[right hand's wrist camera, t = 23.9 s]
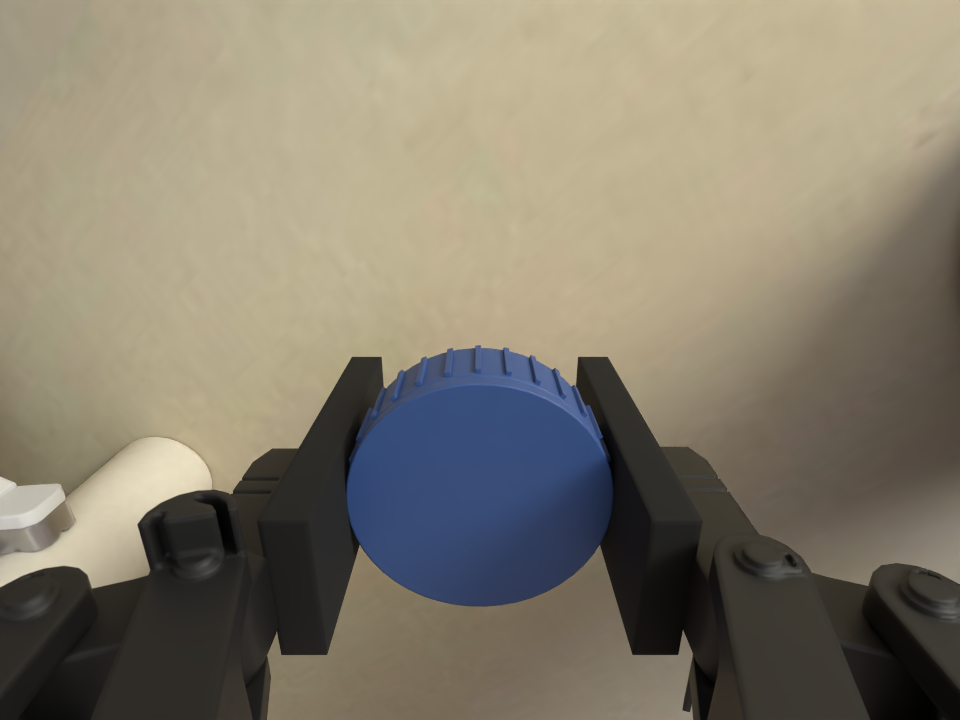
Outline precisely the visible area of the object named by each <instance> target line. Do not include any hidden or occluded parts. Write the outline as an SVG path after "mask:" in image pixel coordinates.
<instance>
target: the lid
mask: <svg viewBox="0 0 960 720" xmlns="http://www.w3.org/2000/svg"><path fill="white" fill-rule="evenodd" d="M356 441H357V442H356V444H355V447H354V449H353V451H352V454H351V456H350V459H349V464H350V468H349V472H348V477H347V483H346V499H347V508H348V516H349V520H350V524H351V526H352V529H353V531H354V534H355V536H356V538H357V540H358V542H359V544H360V545H361V547H362V549H363V550H364V552H365V553H366V554H367V555H368V557H369V558H370V559H371V560H372V562H373V563H374V564H375V565H376V566H377V567H378V568H379V569H380V570H381V571H382V572H383V573H385V574H386V575H387V576H389V577H390V578H391V579H393V580H394V581H395V582H397V583H399V584H400V585H402V586H404V587H405V588H407V589H409V590H411V591H413V592H415V593H417V594H420V595H422V596H424V597H427V598H430V599H433V600H437V601H440V602H445V603H449V604H455V605H463V606H497V605H504V604H510V603H515V602H519V601H523V600H526V599H529V598H533V597H535V596H537V595H540V594H542V593H545V592H547V591H549V590H551V589H552V588H554V587H556V586H558V585H560V584H561V583H563V582H564V581H565V580H567V579H568V578H570V577H571V576H573V575H574V574H575V573H576V572H577V571H578V570H579V569H580V568H581V567H582V566H584V564H585V563H586V562H587V561H588V560H589V559H590V557H591V556H592V555H593V554H594V552H595V551H596V549H597V548H598V546H599V545H600V543H601V542H602V539H603V537H604V535H605V533H606V531H607V529H608V525H609V522H610V519H611V513H612V504H613V494H614V484H613V479H612V473H611V469H610V466H609V463H608V462H610V460H611V458H610V455H609V453H608V450H607V448H606V445H605V443H604V441H603V438H602V434H601V432H600V429H599V427H598V424H597V422H596V420H595V417H594V415H593V412H592V410H591V408H590V406H589V405H587V406H585V405H584V403H583V401H582V399H581V396H580V394H579V391H578V388H577V387H576V386H575V385H573V386H572V387H571V386H570V385H569V384H568V383H567V382H566V381H565V380H564V379H563V378H562V377H561V376H560V374H559V371H558V370H557V369H556V368H554V369H553V370H552V369H550V368H548V367H547V366H545V365H543V364H541V363H540V362H538V361H536V358H535V357H534V356H532V355H531V356H530V357H529V358H528V357H526V356H524V355H520V354H517V353H513V352H509V348H504V349H503V350H497V349H487V348H481V346H480V345H478V346H476V347H475V348H472V349H462V350H455V351H453V348H451V349H448V350H447V353H442V354H439V355H437V356H434V357H431V358H429V359H427V357H423V358H422V359H421V362H420V363H418V364H416V365H415V366H413V367H411V368H410V369H408V370H407V371H406V372H404V371H403V370H401V371H400V372H399V373H398V376H397V379H396V380H395V381H393V382H392V383H391V384H390V385H389V386H388V387H387V389H386V388H384V387H383V388H382V389H381V390H380V393H379V395H378V398H377V400H376V403H375V406H374V408H373V409H372V408H370V407H369V409H368V411H367V413H366V416H365V418H364V421H363V423H362V426H361V428H360V430H359V433H358V435H357V438H356Z"/></svg>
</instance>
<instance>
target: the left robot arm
mask: <svg viewBox="0 0 960 720" xmlns="http://www.w3.org/2000/svg"><path fill="white" fill-rule="evenodd" d="M75 521H76V519H75V517H74V515H73V512H72V510H71V507H70V505H69V503H68V500H67V498H66V496H65V493H64V491H63V489H62V486H61V484H58V483H55V484H40V485H25V486H17V485H16V483H14V482H12V481H10V480H7V479H5V478H2V477H0V555H4V554H12V553H14V552H15V551H16V550H19V551H21V552H24V553H32V552H37V551H40V550H43V549H45V548H47V547H49V546H51V545H52V544H53V543H54V542H55V541H57V540H58V539H59V538H60V535H61V533H62V530H66V529H70V528H71V527H72V526H73V525H74V523H75Z"/></svg>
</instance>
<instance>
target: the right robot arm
mask: <svg viewBox="0 0 960 720" xmlns="http://www.w3.org/2000/svg"><path fill="white" fill-rule="evenodd" d="M383 387H384V386H383V372H382V358H381V357H352V358H351V360H350V361H349V363H348V365H347V367H346V368H345V370H344V372H343V373H342V375H341V377H340V379H339V380H338V382H337V384H336V385H335V387H334V389H333V391H332V392H331V394H330V396H329V397H328V399H327V401H326V403H325V404H324V406H323V408H322V409H321V411H320V413H319V415H318V416H317V418H316V420H315V421H314V423H313V425H312V427H311V428H310V430H309V432H308V433H307V435H306V437H305V439H304V440H303V442H302V444H301V445H300V447H299V449H271V450H270V451H268V452H267V453H265V454H264V455H263V456H261V457H260V458H258V459H257V460H255V461H254V462H253V463H252V464H251V466H250V467H249V469H248V470H247V472H246V473H245V474H244V476H243V477H242V481H240V482H239V483H238V484H237V486H236V487H235V489H234V490H233V494H229V493H226V492H222V491H217V490H197V491H193V492H189V493H185V494H180V495H177V496H175V497H173V498H171V499H168V500H166V501H164V502H161V503H160V504H158V505H157V506H155V507H154V508H153V509H151V510H150V511H148V512H147V513H146V514H145V515H144V516H143V518H142V519H141V520H140V521H139V523H138V524H137V525H138V529H139V532H140V536H141V539H142V543H143V546H144V550H145V553H146V557H147V560H148V564H149V567H150V572H149V575H147V576H143V577H140V578H136V579H133V580H128V581H124V582H119V583H115V584H110V585H106V586H101V587H97V588H92V587H91V584H90V581H89V578H88V575H87V574H86V573H85V572H83V571H82V570H81V569H80V568H76V567H70V566H58V567H51V568H44V569H41V570H38V571H34V572H31V573H28V574H26V575H23V576H21V577H19V578H17V579H15V580H13V581H11V582H9V583H7V584H6V585H4V586H2V587H0V720H267V712H268V702H269V691H270V681H271V675H270V668H269V662H268V657H267V654H268V652H269V649H270V647H271V644H272V642H273V639H274V637H275V635H276V632H277V633H278V639H279V644H280V649H281V655H327V653H328V650H329V647H330V643H331V640H332V636H333V633H334V630H335V626H336V623H337V619H338V616H339V613H340V609H341V606H342V603H343V599H344V596H345V592H346V589H347V586H348V582H349V579H350V575H351V572H352V569H353V565H354V562H355V559H356V555H357V552H358V548H359V545H360V544H359V542H358V540H357V538H356V536H355V534H354V531H353V529H352V526H351V524H350V520H349V516H348V508H347V499H346V483H347V477H348V472H349V468H350V464H349V459H350V456H351V454H352V451H353V449H354V447H355V444H356V442H357V441H356V438H357V435H358V433H359V430H360V428H361V426H362V423H363V421H364V418H365V416H366V413H367V411H368V409H369V407H370V408H372V409H373V408H374V406H375V403H376V400H377V398H378V395H379V393H380V390H381V389H382V388H383ZM576 387H577V388H578V391H579V394H580V396H581V399H582V401H583V403H584V405H585V406H587V405H589V406H590V408H591V410H592V412H593V415H594V417H595V420H596V422H597V424H598V427H599V429H600V432H601V434H602V438H603V441H604V443H605V445H606V448H607V450H608V453H609V455H610V458H611V460H610V462H608V463H609V466H610V469H611V473H612V479H613V484H614V494H613V504H612V513H611V519H610V522H609V525H608V529H607V531H606V533H605V535H604V537H603V539H602V542H601V543H600V546H601V549H602V553H603V556H604V560H605V563H606V566H607V570H608V573H609V577H610V580H611V583H612V587H613V590H614V594H615V597H616V600H617V604H618V607H619V610H620V614H621V617H622V621H623V624H624V627H625V631H626V634H627V638H628V641H629V644H630V648H631V651H632V654H633V655H678V653H679V647H680V642H681V637H682V631H683V630H684V633H685V635H686V638H687V640H688V642H689V645H690V647H691V650H692V652H693V657H692V662H691V667H690V672H689V677H688V683H687V688H686V693H685V698H684V704H683V710H684V711H688V712H690V709H691V704H692V710H693V720H960V584H958V583H956V582H954V581H952V580H950V579H948V578H946V577H944V576H942V575H941V574H939V573H936V572H933V571H931V570H927V569H924V568H921V567H918V566H913V565H905V564H898V563H895V564H888V565H881V566H880V567H879V568H878V569H876V570H875V571H874V572H873V574H872V577H871V580H870V583H869V586H865V585H860V584H856V583H851V582H847V581H842V580H838V579H833V578H829V577H825V576H821V575H818V574H814V573H811V571H810V569H809V568H808V566H807V565H806V563H805V562H804V560H803V559H802V557H801V556H799V555H798V554H797V553H796V552H794V551H793V550H792V549H791V548H789V547H788V546H786V545H784V544H782V543H780V542H778V541H776V540H774V539H772V538H769V537H766V536H762V535H759V534H758V532H757V531H756V529H755V528H754V527H753V525H752V524H751V522H750V521H749V520H748V518H747V517H746V515H745V514H744V512H743V511H742V510H741V508H740V507H739V505H738V504H737V502H736V501H735V500H734V498H733V497H732V495H731V494H730V493H729V492H727V488H726V487H725V485H724V484H723V483H722V481H721V480H720V479H718V476H717V474H716V473H715V471H714V470H713V468H712V467H711V466H710V464H709V463H708V461H707V460H706V459H704V458H703V457H701V456H700V455H698V454H697V453H696V452H694V451H693V450H691V449H690V448H688V447H660V446H659V444H658V443H657V441H656V439H655V438H654V436H653V434H652V432H651V431H650V429H649V427H648V426H647V424H646V422H645V420H644V419H643V417H642V415H641V414H640V412H639V410H638V408H637V407H636V405H635V403H634V402H633V400H632V398H631V396H630V395H629V393H628V391H627V390H626V388H625V386H624V384H623V383H622V381H621V379H620V378H619V376H618V374H617V372H616V371H615V369H614V367H613V366H612V364H611V362H610V360H609V359H608V357H578V367H577V381H576Z"/></svg>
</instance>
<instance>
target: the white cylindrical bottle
mask: <svg viewBox="0 0 960 720" xmlns="http://www.w3.org/2000/svg"><path fill="white" fill-rule="evenodd" d="M197 490H212V478H211V474H210V472H209V469H208V467H207V466H206V464H205V463H204V461H203V460H202V459H201V458H200V456H199V455H198V454H196V453H195V452H194V451H193V450H192V449H190V448H189V447H187V446H185V445H184V444H182V443H180V442H177V441H175V440H172V439H168V438H162V437H146V438H141V439H138V440H135V441H133V442H131V443H129V444H128V445H127V446H125V447H124V448H123V449H122V450H121V451H120V452H118V453H117V454H116V455H115V456H114V457H112V458H111V459H110V460H109V461H108V462H107V463H105V464H104V465H103V466H102V467H101V468H100V469H98V470H97V471H96V472H95V473H94V474H93V475H91V476H90V477H89V478H88V479H87V480H86V481H84V482H83V483H82V484H81V485H80V486H78V487H77V488H76V489H75V490H74V491H73V492H71V493H70V494H69V495H68V496H67V497H66V498H67V500H68V503H69V505H70V507H71V510H72V512H73V515H74V517H75V519H76V521H75V523H74V525H73V526H72V527H71V528H70V529H66V530H62V533H61V535H60V538H59V539H58V540H57V541H55V542H54V543H53V544H52V545H51V546H49V547H47V548H45V549H43V550H40V551H37V552H32V553H24V552H21V551H19V550H16V551H15V552H14V553H12V554H4V555H0V587H2V586H4V585H6V584H7V583H9V582H11V581H13V580H15V579H17V578H19V577H21V576H23V575H26V574H28V573H31V572H34V571H38V570H41V569H44V568H51V567H58V566H70V567H76V568H80V569H81V570H82V571H83V572H85V573H86V574H87V575H88V578H89V581H90V584H91V587H92V588H97V587H101V586H106V585H110V584H115V583H119V582H124V581H128V580H133V579H136V578H140V577H143V576H147V575H149V572H150V567H149V564H148V560H147V557H146V553H145V550H144V546H143V543H142V539H141V536H140V532H139V529H138V525H137V524H138V523H139V521H140V520H141V519H142V518H143V516H144V515H145V514H146V513H147V512H148V511H150V510H151V509H153V508H154V507H155V506H157V505H158V504H160V503H161V502H164V501H166V500H168V499H171V498H173V497H175V496H177V495H180V494H185V493H189V492H193V491H197Z"/></svg>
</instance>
